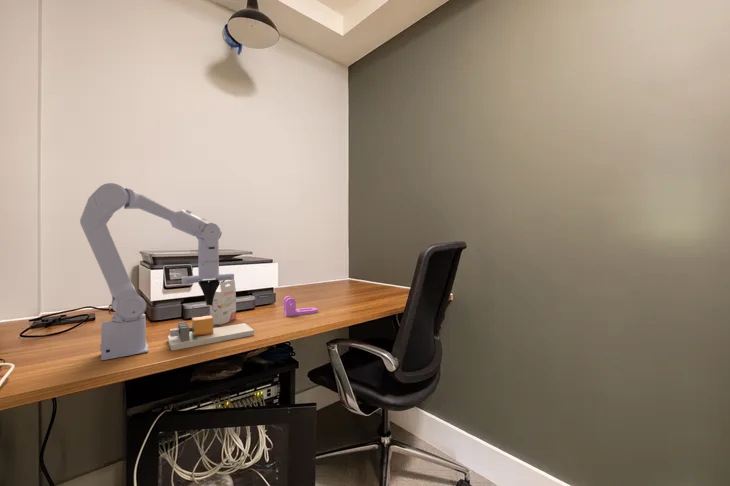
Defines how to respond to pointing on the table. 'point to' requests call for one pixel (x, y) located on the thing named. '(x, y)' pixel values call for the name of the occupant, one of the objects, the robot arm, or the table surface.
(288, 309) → the bracket
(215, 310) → the ink cartridge box
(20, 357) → the table surface
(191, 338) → the board
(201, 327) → the orange block
